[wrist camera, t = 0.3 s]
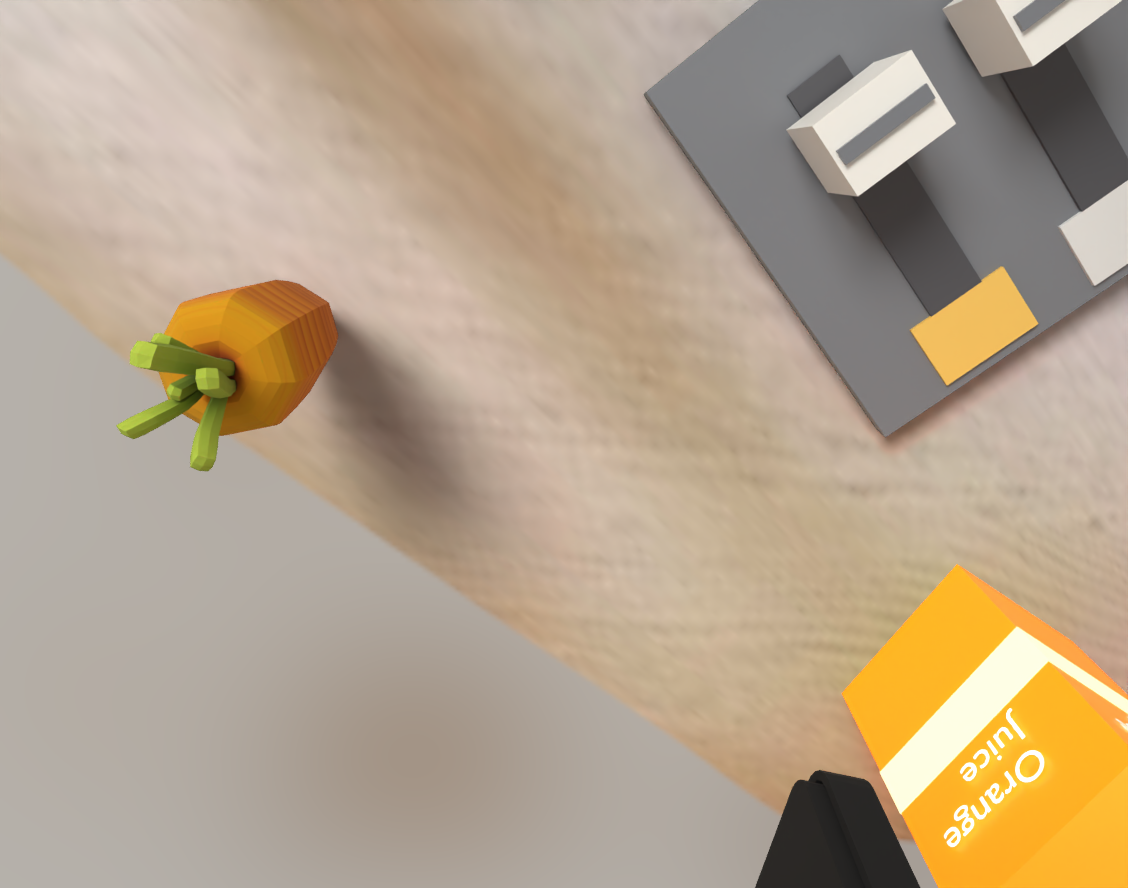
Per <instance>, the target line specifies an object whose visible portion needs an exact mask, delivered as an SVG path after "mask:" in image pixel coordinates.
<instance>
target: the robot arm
mask: <svg viewBox="0 0 1128 888" xmlns="http://www.w3.org/2000/svg"><path fill="white" fill-rule="evenodd" d="M755 888H920V886H919V884H918V882H917V880H916V878H915V876H914V873H913V871H912V869H911V867H910V865H909V863H908V861H907V859H906V857H905V855H904V852H903V850H902V848H901V846H900V844H899V842H898V840H897V837H896V835H895V833H894V831H893V829H892V827H891V825H890V823H889V821H888V818H887V816H886V814H885V812H884V810H883V808H882V806H881V804H880V802H879V799H878V797H877V795H876V793H875V791H874V789H873V787H872V786H871V784H870V783H869V782H868V781H866V780H865V779H861V778H856V777H851V776H846V775H841V774H836V773H831V772H826V771H821V770H819V771H815V772H814V773H813V774H812V775H811V777H810V779H809V781H805V780H798V781H797V782H796V783H795V784H794V786H793V788H792V790H791V793H790V796H789V798H788V801H787V804H786V806H785V809H784V812H783V814H782V817H781V820H780V822H779V825H778V828H777V830H776V833H775V836H774V839H773V841H772V844H771V846H770V849H769V852H768V854H767V857H766V860H765V862H764V865H763V868H762V871H761V873H760V876H759V879H758V881H757V884H756V887H755Z"/></svg>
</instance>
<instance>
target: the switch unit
mask: <svg viewBox="0 0 1128 888" xmlns="http://www.w3.org/2000/svg"><path fill="white" fill-rule="evenodd" d="M952 1H953V0H759V1H757V2H756V3H755V4H754V5H752V6H751V7H750V8H749V9H747V10H746V11H745V12H744V13H743V14H741V15H740V16H739V17H738V18H736V19H735V20H734V21H733V22H731V23H730V24H729V25H728V26H727V27H725V28H724V29H723V30H722V31H720V32H719V33H718V34H717V35H716V36H714V37H713V38H712V39H711V40H709V41H708V42H707V43H706V44H704V45H703V46H702V47H701V48H700V49H698V50H697V51H696V52H695V53H693V54H692V55H691V56H690V57H689V58H687V59H686V60H685V61H684V62H682V63H681V64H680V65H679V66H677V67H676V68H675V69H674V70H673V71H671V72H670V73H669V74H668V75H666V76H665V77H664V78H663V79H661V80H660V81H659V82H658V83H657V84H655V85H654V86H653V87H652V88H650V89H649V90H648V91H647V92H646V93H645V94H644V96H645V97H646V98H647V100H648V101H649V103H650V104H651V106H652V107H653V108H654V110H655V111H656V113H657V114H658V116H659V117H660V119H661V120H662V121H663V123H664V124H665V126H666V127H667V129H668V130H669V131H670V133H671V134H672V136H673V137H674V139H675V140H676V142H677V143H678V144H679V146H680V147H681V149H682V150H683V152H684V153H685V154H686V156H687V157H688V159H689V160H690V162H691V163H692V165H693V166H694V167H695V169H696V170H697V172H698V173H699V175H700V176H701V177H702V179H703V180H704V182H705V183H706V185H707V186H708V187H709V189H710V190H711V192H712V193H713V195H714V196H715V198H716V199H717V200H718V202H719V203H720V205H721V206H722V208H723V209H724V210H725V212H726V213H727V215H728V216H729V218H730V219H731V221H732V222H733V223H734V225H735V226H736V228H737V229H738V231H739V232H740V233H741V235H742V236H743V238H744V239H745V241H746V242H747V244H748V245H749V246H750V248H751V249H752V251H753V252H754V254H755V255H756V256H757V258H758V259H759V261H760V262H761V264H762V265H763V267H764V268H765V269H766V271H767V272H768V274H769V275H770V277H771V278H772V279H773V281H774V282H775V284H776V285H777V287H778V288H779V290H780V291H781V292H782V294H783V295H784V297H785V298H786V300H787V301H788V302H789V304H790V305H791V307H792V308H793V310H794V311H795V312H796V314H797V315H798V317H799V318H800V320H801V321H802V323H803V324H804V325H805V327H806V328H807V330H808V331H809V333H810V334H811V335H812V337H813V338H814V340H815V341H816V343H817V344H818V346H819V347H820V348H821V350H822V351H823V353H824V354H825V356H826V357H827V358H828V360H829V361H830V363H831V364H832V366H833V367H834V369H835V370H836V371H837V373H838V374H839V376H840V377H841V379H842V380H843V381H844V383H845V384H846V386H847V387H848V389H849V390H850V392H851V393H852V394H853V396H854V397H855V399H856V400H857V402H858V403H859V404H860V406H861V407H862V409H863V410H864V412H865V413H866V415H867V416H868V417H869V419H870V420H871V422H872V423H873V425H874V426H875V427H876V429H877V430H878V431H879V432H880V433H881V434H883V435H884V436H885V437H887V436H888V435H890V434H891V433H893V432H894V431H896V430H897V429H899V428H900V427H902V426H903V425H905V424H906V423H908V422H909V421H911V420H912V419H914V418H915V417H917V416H918V415H920V414H921V413H923V412H924V411H926V410H927V409H929V408H930V407H932V406H933V405H934V404H936V403H937V402H939V401H940V400H942V399H943V398H945V397H946V396H948V395H949V394H951V393H952V392H954V391H955V390H957V389H958V388H960V387H961V386H963V385H964V384H966V383H967V382H969V381H970V380H972V379H973V378H975V377H976V376H978V375H979V374H981V373H982V372H984V371H985V370H987V369H988V368H990V367H991V366H992V365H994V364H995V363H997V362H998V361H1000V360H1001V359H1003V358H1004V357H1006V356H1007V355H1009V354H1010V353H1012V352H1013V351H1015V350H1016V349H1018V348H1019V347H1021V346H1022V345H1024V344H1025V343H1027V342H1028V341H1030V340H1031V339H1033V338H1034V337H1036V336H1037V335H1039V334H1040V333H1042V332H1043V331H1045V330H1046V329H1048V328H1049V327H1050V326H1052V325H1053V324H1055V323H1056V322H1058V321H1059V320H1061V319H1062V318H1064V317H1065V316H1067V315H1068V314H1070V313H1071V312H1073V311H1074V310H1076V309H1077V308H1079V307H1080V306H1082V305H1083V304H1085V303H1086V302H1088V301H1089V300H1091V299H1092V298H1094V297H1095V296H1097V295H1098V294H1100V293H1101V292H1103V291H1104V290H1106V289H1107V288H1108V287H1110V286H1111V285H1113V284H1114V283H1116V282H1117V281H1119V280H1120V279H1122V278H1123V277H1125V276H1126V275H1128V0H1122V1H1121V2H1119V3H1118V4H1117V5H1115V6H1114V7H1113V8H1111V9H1110V10H1108V11H1107V12H1106V13H1104V14H1103V15H1102V16H1100V17H1099V18H1098V19H1096V20H1095V21H1094V22H1092V23H1091V24H1090V25H1088V26H1087V27H1086V28H1084V29H1083V30H1081V31H1080V32H1079V33H1077V34H1076V35H1075V36H1073V37H1072V38H1071V39H1069V40H1068V41H1067V42H1065V43H1064V44H1063V45H1061V46H1060V47H1059V48H1057V49H1056V50H1054V51H1053V52H1052V53H1050V54H1049V55H1048V56H1046V57H1045V58H1044V59H1042V60H1041V61H1040V62H1038V63H1037V64H1036V65H1034V66H1032V67H1027V68H1022V69H1018V70H1013V71H1008V72H1003V73H998V74H993V75H989V76H984V77H982V76H981V75H980V73H979V71H978V69H977V68H976V66H975V64H974V63H973V61H972V59H971V57H970V56H969V54H968V52H967V51H966V49H965V47H964V45H963V44H962V42H961V40H960V39H959V37H958V35H957V34H956V32H955V30H954V28H953V27H952V25H951V23H950V22H949V20H948V18H947V16H946V15H945V13H944V11H943V10H942V9H943V8H944V7H945V6H947V5H948V4H949V3H951V2H952ZM909 50H912V51H913V53H914V55H915V56H916V58H917V60H918V61H919V63H920V65H921V66H922V68H923V70H924V71H925V73H926V75H927V76H928V78H929V80H930V81H931V83H932V85H933V86H934V88H935V89H936V91H937V93H938V94H939V96H940V98H941V99H942V101H943V103H944V104H945V106H946V108H947V109H948V111H949V113H950V114H951V116H952V118H953V119H954V121H955V123H956V124H955V125H954V126H952V127H951V128H950V129H948V130H947V131H946V132H944V133H943V134H942V135H940V136H939V137H937V138H936V139H935V140H933V141H932V142H931V143H929V144H928V145H927V146H925V147H924V148H923V149H921V150H920V151H919V152H917V153H916V154H915V155H913V156H912V157H910V158H909V159H908V160H906V161H905V162H904V163H902V164H901V165H900V166H898V167H897V168H896V169H894V170H893V171H892V172H890V173H889V174H888V175H886V176H885V177H883V178H882V179H881V180H879V181H878V182H877V183H875V184H874V185H873V186H871V187H870V188H869V189H867V190H866V191H865V192H863V193H862V194H861V195H859V196H850V195H842V194H835V193H827V191H826V190H825V188H824V186H823V185H822V183H821V182H820V180H819V179H818V177H817V176H816V174H815V173H814V171H813V170H812V168H811V167H810V165H809V164H808V162H807V161H806V159H805V158H804V156H803V155H802V153H801V152H800V150H799V149H798V147H797V145H796V144H795V142H794V141H793V139H792V138H791V136H790V135H789V133H788V132H787V129H788V128H789V127H791V126H792V125H793V124H795V123H796V122H797V121H798V120H800V119H801V118H802V117H804V116H805V115H806V114H807V113H809V112H810V111H811V110H813V109H814V108H815V107H817V106H818V105H819V104H820V103H822V102H823V101H824V100H826V99H827V98H828V97H829V96H831V95H832V94H833V93H835V92H836V91H837V90H838V89H840V88H841V87H842V86H844V85H845V84H846V83H848V82H849V81H850V80H851V79H853V78H854V77H855V76H857V75H858V74H859V73H860V72H862V71H863V70H864V69H866V68H867V67H868V66H870V65H871V64H872V63H873V62H876V61H879V60H882V59H885V58H888V57H891V56H894V55H897V54H900V53H903V52H906V51H909Z"/></svg>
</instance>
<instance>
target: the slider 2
mask: <svg viewBox="0 0 1128 888" xmlns="http://www.w3.org/2000/svg"><path fill="white" fill-rule="evenodd" d="M1121 1H1122V0H953V1H952V2H951V3H949V4H948V5H947V6H945V7H944V8H943V9H942V10H943V11H944V13H945V15H946V16H947V18H948V20H949V22H950V23H951V25H952V27H953V28H954V30H955V32H956V34H957V35H958V37H959V39H960V40H961V42H962V44H963V45H964V47H965V49H966V51H967V52H968V54H969V56H970V57H971V59H972V61H973V63H974V64H975V66H976V68H977V69H978V71H979V73H980V75H981V76H982V77H984V76H989V75H993V74H998V73H1003V72H1008V71H1013V70H1018V69H1022V68H1027V67H1032V66H1034V65H1036V64H1037V63H1038V62H1040V61H1041V60H1042V59H1044V58H1045V57H1046V56H1048V55H1049V54H1050V53H1052V52H1053V51H1054V50H1056V49H1057V48H1059V47H1060V46H1061V45H1063V44H1064V43H1065V42H1067V41H1068V40H1069V39H1071V38H1072V37H1073V36H1075V35H1076V34H1077V33H1079V32H1080V31H1081V30H1083V29H1084V28H1086V27H1087V26H1088V25H1090V24H1091V23H1092V22H1094V21H1095V20H1096V19H1098V18H1099V17H1100V16H1102V15H1103V14H1104V13H1106V12H1107V11H1108V10H1110V9H1111V8H1113V7H1114V6H1115V5H1117V4H1118V3H1119V2H1121Z"/></svg>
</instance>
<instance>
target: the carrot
mask: <svg viewBox="0 0 1128 888" xmlns="http://www.w3.org/2000/svg"><path fill="white" fill-rule="evenodd" d="M337 339H338V333H337V329H336V326H335V322H334V319H333V315H332V312H331V308H330V305H329V303H328V302H327V301H325V300H324V299H322V298H321V297H319V296H317V295H316V294H314V293H313V292H311V291H309V290H308V289H306V288H305V287H303V286H301V285H300V284H297V283H293V282H289V281H281V280H274V281H269V282H264V283H260V284H255V285H250V286H245V287H241V288H236V289H231V290H227V291H222V292H218V293H213V294H209V295H205V296H202V297H199V298H195V299H192V300H188V301H185V302H183V303H181V304H180V305H179V306H178V308H177V310H176V312H175V314H174V316H173V318H172V319H171V321H170V323H169V325H168V327H167V329H166V331H165V333H164V334H162V333H157V334H154V336H153V338H152V340H151V342H144V341H137V342H136V344H135V345H134V347H133V349H132V350H131V352H130V364H131V365H134V366H136V367H140V368H144V369H149V370H154V371H159V374H160V377H161V380H162V383H163V385H164V388H165V391H166V394H167V397H168V400H167V401H165V402H162V403H160V404H158V405H156V406H154V407H151V408H149V409H147V410H145V411H143V412H141V413H138V414H137V415H134V416H132V417H130V418H128V419H126V420H125V421H123V422H121V423H120V424H118V425H117V428H118V429H119V431H120V432H121V434H123V435H125V436H127V437H130V438H132V439H135V438H138V437H140V436H142V435H145V434H147V433H148V432H150V431H152V430H154V429H156V428H158V427H160V426H161V425H163V424H165V423H167V422H169V421H170V420H172V419H174V418H175V417H177V416H179V415H180V414H184V415H186V416H187V417H189V418H190V419H192V420H194V421H195V422H197V423H199V427H198V429H197V431H196V434H195V437H194V441H193V446H192V452H191V456H190V462H191V463H190V467H192V468H194V469H196V470H199V471H209V470H210V469H211V468H212V467H213V465H214V462H215V460H216V454H217V448H218V438H219V436H224V435H229V434H234V433H239V432H244V431H249V430H254V429H259V428H264V427H269V426H274V425H278V424H280V423H281V422H282V421H283V420H284V419H285V418H286V417H287V416H288V415H289V414H290V413H291V412H292V411H293V410H294V409H295V408H296V407H297V406H298V405H299V404H300V403H301V401H302V400H303V399H304V398H305V397H306V396H307V394H308V393H309V392H310V391H311V389H312V387H313V386H314V384H315V382H316V380H317V379H318V377H319V375H320V374H321V372H322V370H323V368H324V367H325V365H326V363H327V362H328V360H329V358H330V356H331V355H332V353H333V351H334V348H335V346H336V343H337Z"/></svg>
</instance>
